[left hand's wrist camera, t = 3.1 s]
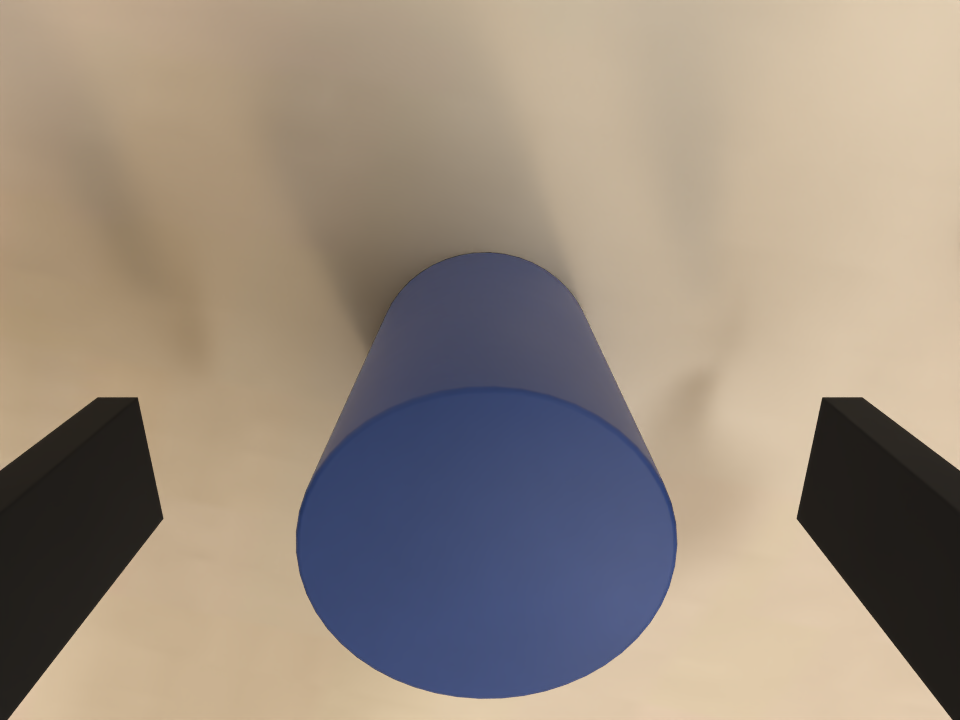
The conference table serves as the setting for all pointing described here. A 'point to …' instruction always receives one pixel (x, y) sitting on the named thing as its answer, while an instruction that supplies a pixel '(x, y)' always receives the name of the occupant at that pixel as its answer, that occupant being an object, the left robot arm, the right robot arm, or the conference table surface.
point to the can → (486, 493)
